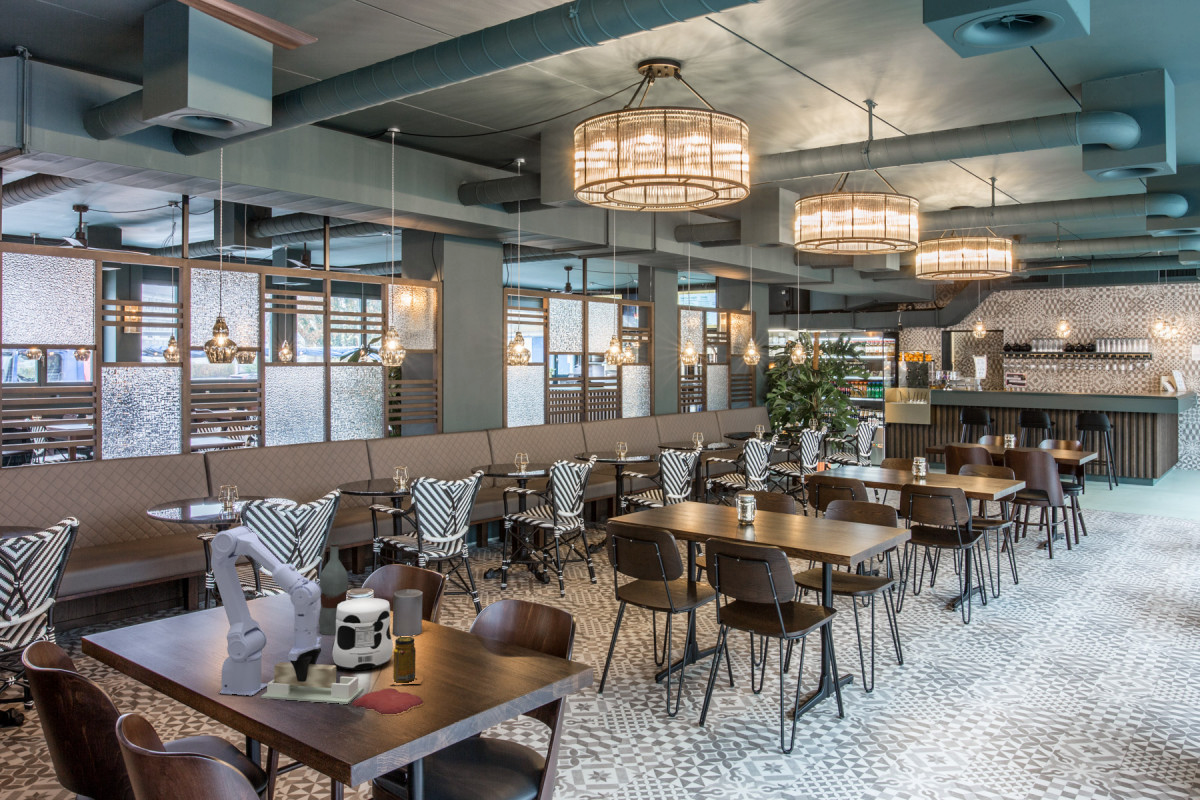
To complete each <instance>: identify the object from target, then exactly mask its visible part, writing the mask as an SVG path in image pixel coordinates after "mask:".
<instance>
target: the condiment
mask: <svg viewBox="0 0 1200 800" xmlns="http://www.w3.org/2000/svg"><path fill="white" fill-rule="evenodd" d="M394 643H395V644H394V647H395V648H394V649H393V667H392V668H393V673H392V674H393V678H392V680H393V679H394V682H396V683H409V682H412V681H414V679H415V676H416V655H417V654H416V653H417V652H416V650H417V649H416V647H415V645H416V644H415V638H414V637H413V636H412V637H397V638H395V642H394Z"/></svg>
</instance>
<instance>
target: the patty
mask: <svg viewBox="0 0 1200 800" xmlns="http://www.w3.org/2000/svg"><path fill="white" fill-rule="evenodd" d="M421 699H422V697H421V696H418V695H416V694H412V693H409V692H401V691H399V690H398V689H395V688H391V687H390V688H383V689H380V690H378V691H377V690H376V691H370V692H367V693H365V694H364V695H362V696H361V697H359V698H358V697H357V698H355V699H354V700H353V701H352V702H351V706H352V705H353V706H356V707H365V708H366V709H374V710H375V711H377V712H379V713H381V714H397V713H401V712H403V711H407V710H408V709H409V708H411V707H413V706H417V705H420V704H422V703H423V702H424V700H421ZM353 706H352V707H353ZM366 709H365V710H366ZM375 711H374V712H375Z"/></svg>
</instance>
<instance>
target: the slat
mask: <svg viewBox="0 0 1200 800" xmlns="http://www.w3.org/2000/svg"><path fill="white" fill-rule="evenodd" d="M273 667H274V668H273V679H274V683H282V684H290V686H305V687H321V688H332V683H337V665H336V664H335V665H333V664H331V665H330V664H317V663H316V664H309V666H308V673H307V679H306V681H305V682H300V681H298V680H297V677H296V673H295V669H294V667H293V665H292V663H291V662H286V661H285V662H283V661H281V662H279V663H277V664H275V665H274V666H273Z"/></svg>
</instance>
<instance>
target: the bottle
mask: <svg viewBox="0 0 1200 800" xmlns="http://www.w3.org/2000/svg"><path fill="white" fill-rule="evenodd" d="M329 552H330V553H329V560H328V562H327V563H326V564H325V566H324V568H323V569H322V571H320V572H321V573H320V575H319V583H318V585H319V586H320V588H321V596H320V598H319V599H320V610H319V614H318V627H319V631H320V634H321V633H322V635H324V634H325V636H336V612H337V606H338V604H339V603H341V602H344V601H347V598H346V594H348V586H349V577H348V572H347V569H346V568H345V567H344V565H343V564H342V562H341V560H340V559H339V543H338V542H330V550H329Z"/></svg>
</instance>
